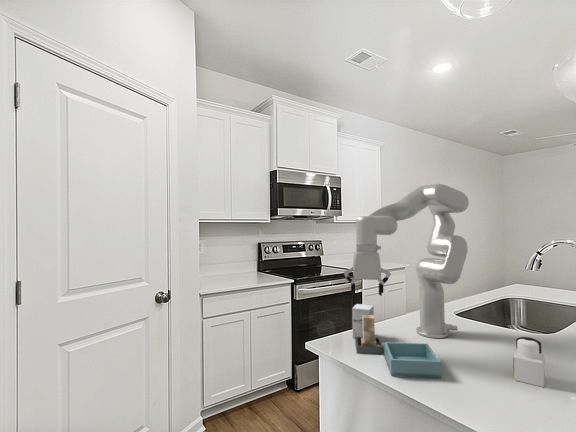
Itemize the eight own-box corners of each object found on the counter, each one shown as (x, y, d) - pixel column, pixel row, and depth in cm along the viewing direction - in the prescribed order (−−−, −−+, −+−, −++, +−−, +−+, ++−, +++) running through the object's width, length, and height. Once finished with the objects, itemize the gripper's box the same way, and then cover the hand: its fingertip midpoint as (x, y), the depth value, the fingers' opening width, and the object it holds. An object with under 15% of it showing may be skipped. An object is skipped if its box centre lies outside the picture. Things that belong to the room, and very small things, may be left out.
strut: (375, 346, 126) (374, 314, 126) (376, 351, 120) (376, 318, 121) (361, 345, 126) (360, 314, 126) (362, 351, 121) (361, 318, 121)
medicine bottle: (516, 371, 103) (515, 333, 103) (544, 378, 99) (543, 338, 99) (513, 380, 98) (512, 340, 98) (544, 388, 93) (543, 345, 93)
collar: (380, 344, 127) (380, 337, 127) (383, 354, 118) (383, 347, 118) (355, 343, 129) (355, 336, 129) (356, 353, 119) (356, 346, 119)
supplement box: (352, 338, 134) (351, 307, 134) (357, 332, 140) (356, 303, 141) (370, 341, 130) (369, 309, 131) (374, 335, 137) (373, 305, 137)
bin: (427, 358, 114) (427, 343, 114) (441, 378, 100) (440, 361, 100) (384, 356, 116) (384, 342, 116) (391, 376, 102) (391, 359, 102)
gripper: (388, 248, 126) (389, 292, 126) (343, 248, 129) (343, 291, 128) (392, 250, 119) (392, 297, 118) (343, 249, 121) (344, 296, 121)
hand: (367, 294), depth 123 cm, fingers open, 9 cm apart
